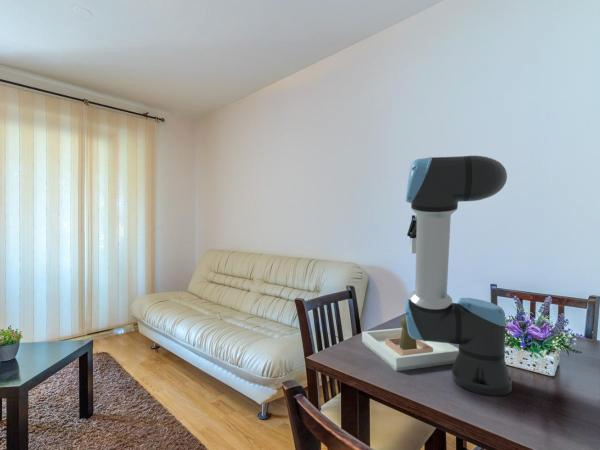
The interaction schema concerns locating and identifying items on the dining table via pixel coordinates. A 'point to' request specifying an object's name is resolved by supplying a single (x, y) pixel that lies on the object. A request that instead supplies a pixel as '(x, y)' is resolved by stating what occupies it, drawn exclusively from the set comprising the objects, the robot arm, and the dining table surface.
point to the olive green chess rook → (406, 337)
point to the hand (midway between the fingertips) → (423, 255)
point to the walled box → (399, 359)
